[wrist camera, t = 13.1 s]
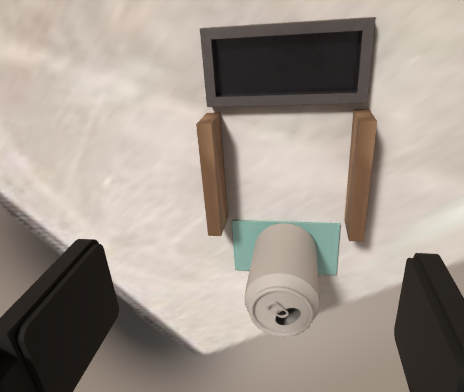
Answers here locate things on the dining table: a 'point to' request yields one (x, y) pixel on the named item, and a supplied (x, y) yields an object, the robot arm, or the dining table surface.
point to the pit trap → (288, 63)
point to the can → (283, 281)
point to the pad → (320, 232)
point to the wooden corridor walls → (357, 173)
